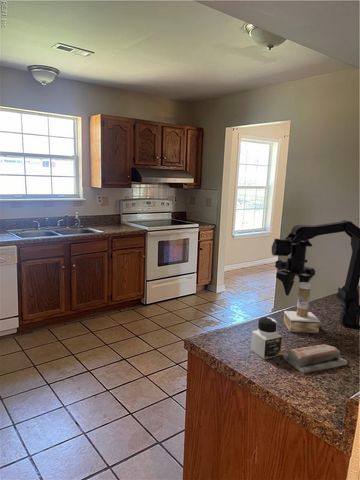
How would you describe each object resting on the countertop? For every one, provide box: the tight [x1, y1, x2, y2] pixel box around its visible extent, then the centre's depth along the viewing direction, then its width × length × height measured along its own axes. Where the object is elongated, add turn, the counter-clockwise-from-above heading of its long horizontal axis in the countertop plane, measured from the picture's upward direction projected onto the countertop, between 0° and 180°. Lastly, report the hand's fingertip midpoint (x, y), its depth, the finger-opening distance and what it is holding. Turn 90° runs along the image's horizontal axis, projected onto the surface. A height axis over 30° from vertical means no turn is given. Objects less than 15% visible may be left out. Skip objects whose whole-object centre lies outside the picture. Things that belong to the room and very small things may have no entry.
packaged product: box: [282, 343, 348, 374], centre depth 113 cm, size 18×5×10 cm
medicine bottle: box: [250, 316, 283, 360], centre depth 116 cm, size 7×7×12 cm
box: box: [283, 312, 320, 334], centre depth 139 cm, size 11×10×4 cm
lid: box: [283, 310, 321, 323], centre depth 139 cm, size 11×10×1 cm
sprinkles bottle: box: [296, 282, 312, 317], centre depth 138 cm, size 5×5×13 cm
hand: (293, 293), depth 141 cm, fingers open, 9 cm apart
